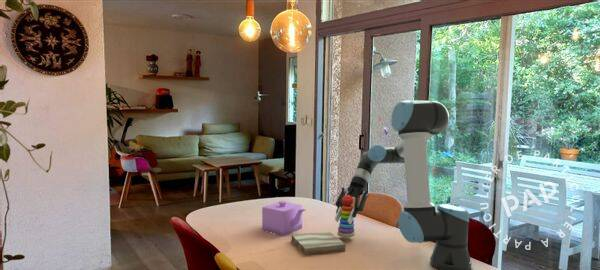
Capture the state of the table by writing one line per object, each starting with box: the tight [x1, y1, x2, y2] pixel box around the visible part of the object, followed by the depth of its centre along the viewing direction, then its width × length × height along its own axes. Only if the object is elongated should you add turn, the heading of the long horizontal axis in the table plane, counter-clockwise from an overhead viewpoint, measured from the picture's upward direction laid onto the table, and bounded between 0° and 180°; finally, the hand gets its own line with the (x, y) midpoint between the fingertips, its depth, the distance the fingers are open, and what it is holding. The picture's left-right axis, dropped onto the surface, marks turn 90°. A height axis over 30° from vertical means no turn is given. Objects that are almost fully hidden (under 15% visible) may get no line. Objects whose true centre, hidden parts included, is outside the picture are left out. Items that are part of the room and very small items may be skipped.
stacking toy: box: [337, 194, 356, 239], centre depth 195 cm, size 8×8×19 cm
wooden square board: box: [291, 230, 346, 256], centre depth 186 cm, size 18×18×3 cm
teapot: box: [261, 200, 306, 237], centre depth 207 cm, size 15×25×14 cm, turn 55°
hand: (342, 221), depth 192 cm, fingers closed on stacking toy, 6 cm apart
